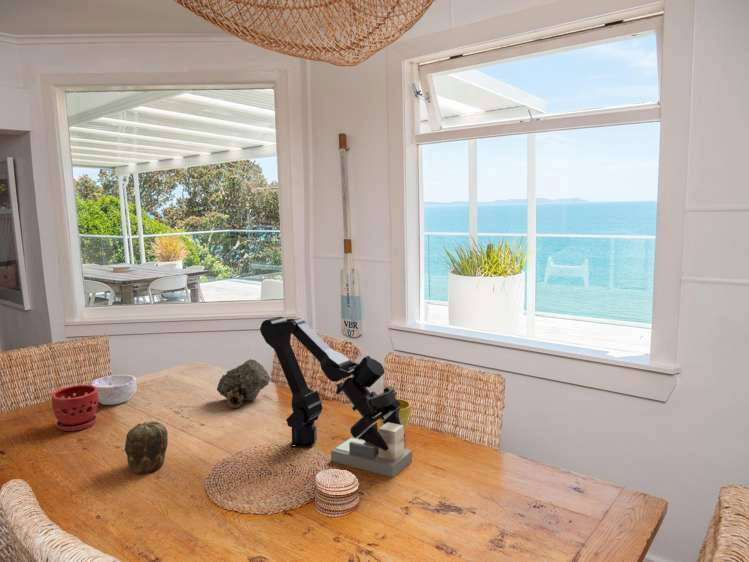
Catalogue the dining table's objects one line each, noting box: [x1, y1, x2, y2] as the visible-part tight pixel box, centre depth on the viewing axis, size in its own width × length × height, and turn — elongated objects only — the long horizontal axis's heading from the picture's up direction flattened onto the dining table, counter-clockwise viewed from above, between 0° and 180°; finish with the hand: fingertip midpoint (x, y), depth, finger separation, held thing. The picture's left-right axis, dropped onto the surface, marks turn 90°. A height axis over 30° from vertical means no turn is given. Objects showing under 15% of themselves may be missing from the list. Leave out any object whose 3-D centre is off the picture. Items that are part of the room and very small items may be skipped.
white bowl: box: [90, 374, 138, 406], centre depth 200 cm, size 15×15×8 cm
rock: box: [216, 358, 272, 409], centre depth 196 cm, size 18×14×15 cm
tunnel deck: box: [330, 435, 413, 478], centre depth 149 cm, size 20×11×6 cm, turn 59°
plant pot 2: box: [379, 397, 412, 435], centre depth 167 cm, size 10×10×10 cm
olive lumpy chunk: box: [124, 420, 169, 475], centre depth 147 cm, size 11×11×12 cm
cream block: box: [377, 422, 405, 461], centre depth 145 cm, size 5×5×8 cm
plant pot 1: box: [51, 384, 99, 432], centre depth 176 cm, size 13×13×12 cm
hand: (395, 443), depth 145 cm, fingers open, 9 cm apart
